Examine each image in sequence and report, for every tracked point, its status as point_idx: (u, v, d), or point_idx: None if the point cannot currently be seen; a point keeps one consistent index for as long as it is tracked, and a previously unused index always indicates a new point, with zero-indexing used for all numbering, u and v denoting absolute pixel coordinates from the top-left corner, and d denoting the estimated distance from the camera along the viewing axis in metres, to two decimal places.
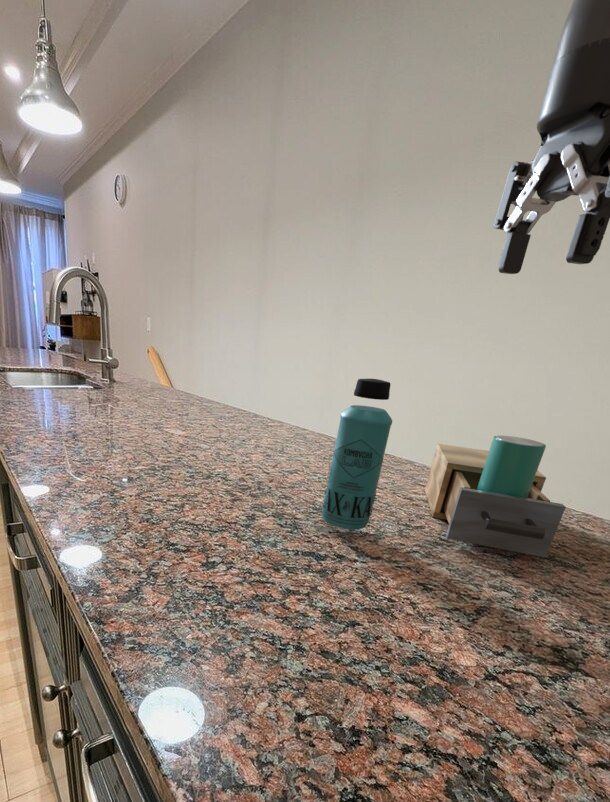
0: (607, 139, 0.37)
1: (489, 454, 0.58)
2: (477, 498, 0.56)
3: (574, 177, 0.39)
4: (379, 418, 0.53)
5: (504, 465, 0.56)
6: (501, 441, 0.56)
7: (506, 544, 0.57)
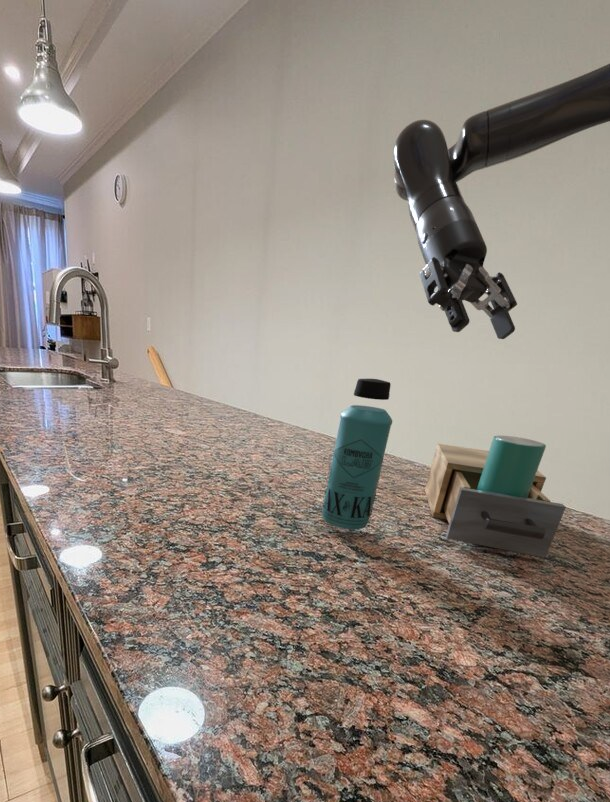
0: None
1: (489, 454, 0.58)
2: (477, 498, 0.56)
3: None
4: (379, 418, 0.53)
5: (504, 465, 0.56)
6: (501, 441, 0.56)
7: (506, 544, 0.57)
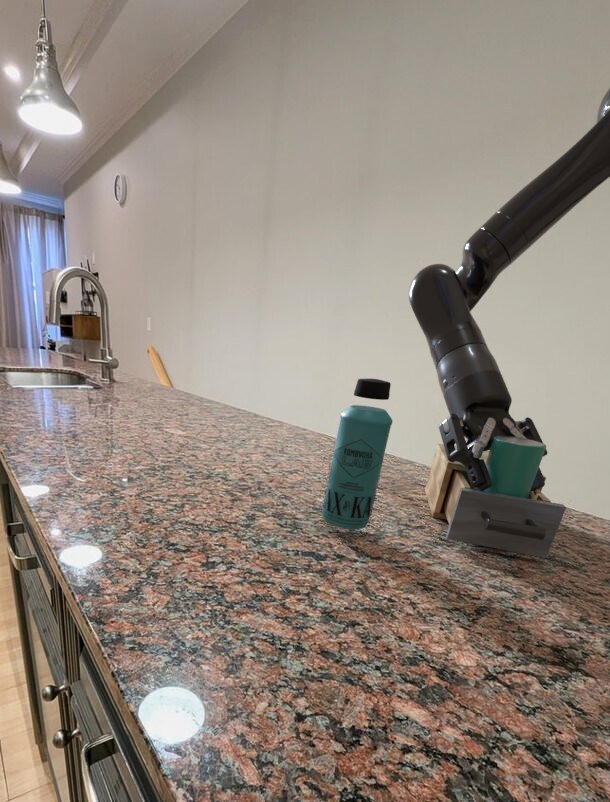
0: None
1: (489, 454, 0.58)
2: (477, 498, 0.56)
3: None
4: (379, 418, 0.53)
5: (505, 465, 0.56)
6: (501, 441, 0.56)
7: (506, 544, 0.57)
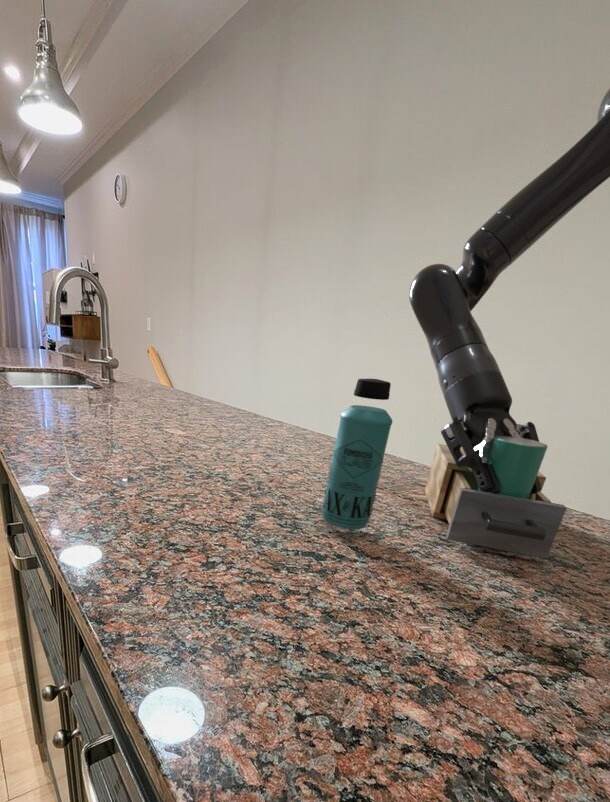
0: None
1: (490, 454, 0.58)
2: (477, 499, 0.56)
3: None
4: (379, 418, 0.53)
5: (506, 465, 0.55)
6: (502, 441, 0.55)
7: (507, 545, 0.57)
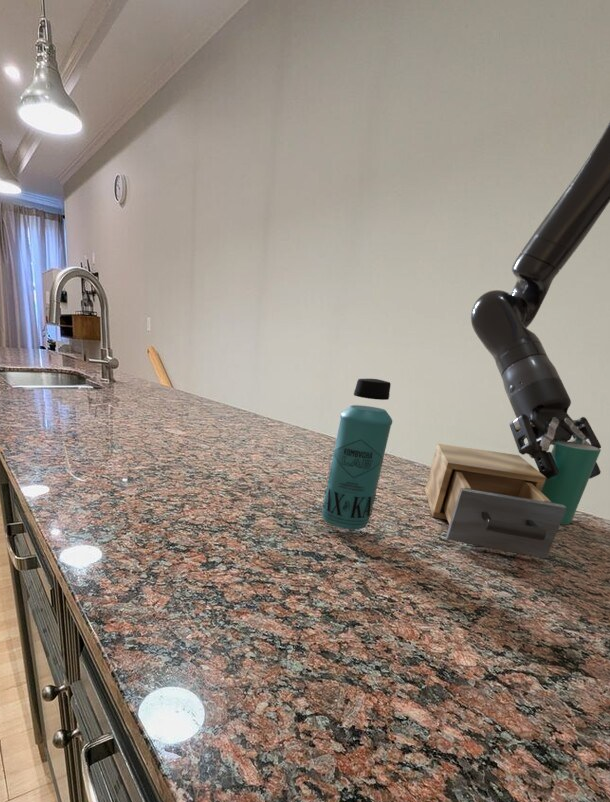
0: None
1: None
2: (477, 499, 0.56)
3: None
4: (379, 418, 0.53)
5: (566, 465, 0.68)
6: (563, 446, 0.68)
7: (507, 545, 0.57)
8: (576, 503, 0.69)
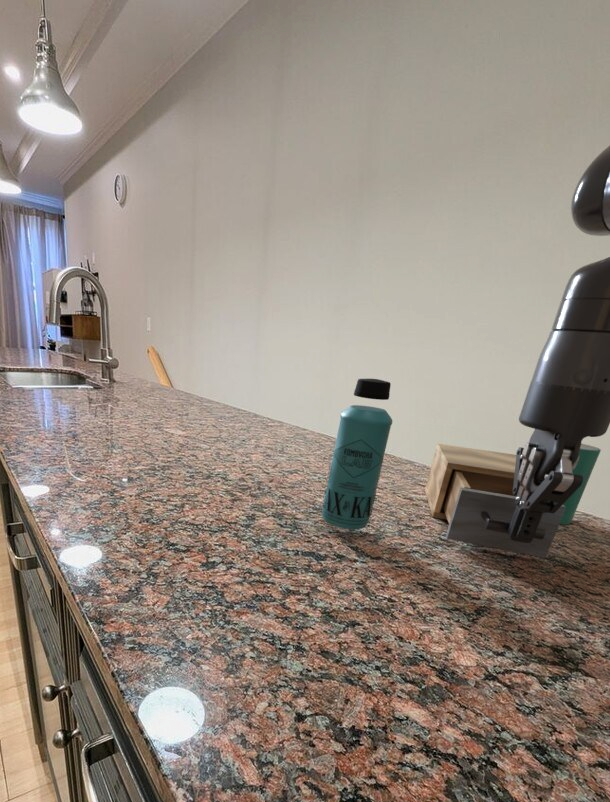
0: (551, 463, 0.44)
1: None
2: (477, 498, 0.56)
3: (525, 477, 0.48)
4: (379, 418, 0.53)
5: None
6: None
7: (506, 544, 0.57)
8: (576, 503, 0.69)
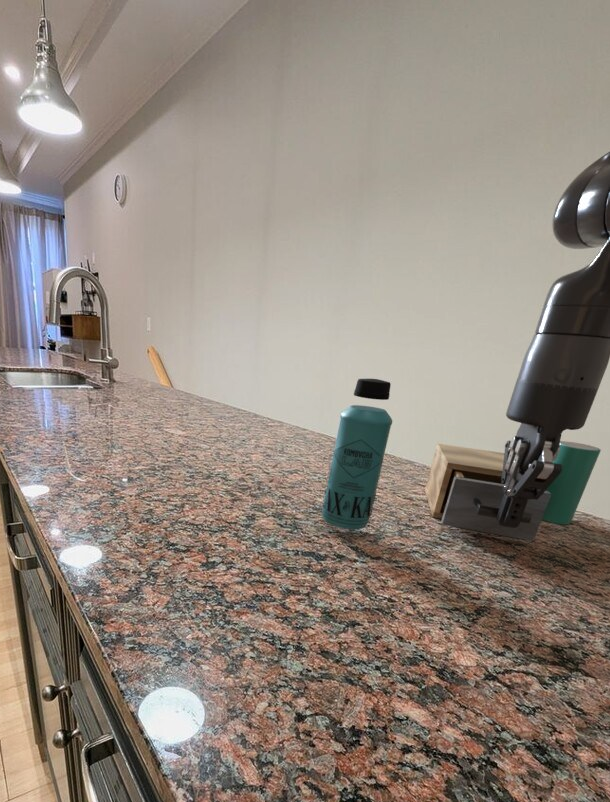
0: (534, 453, 0.49)
1: None
2: (470, 486, 0.61)
3: (512, 467, 0.52)
4: (379, 418, 0.53)
5: (566, 465, 0.68)
6: (563, 446, 0.68)
7: (497, 529, 0.61)
8: (576, 503, 0.69)
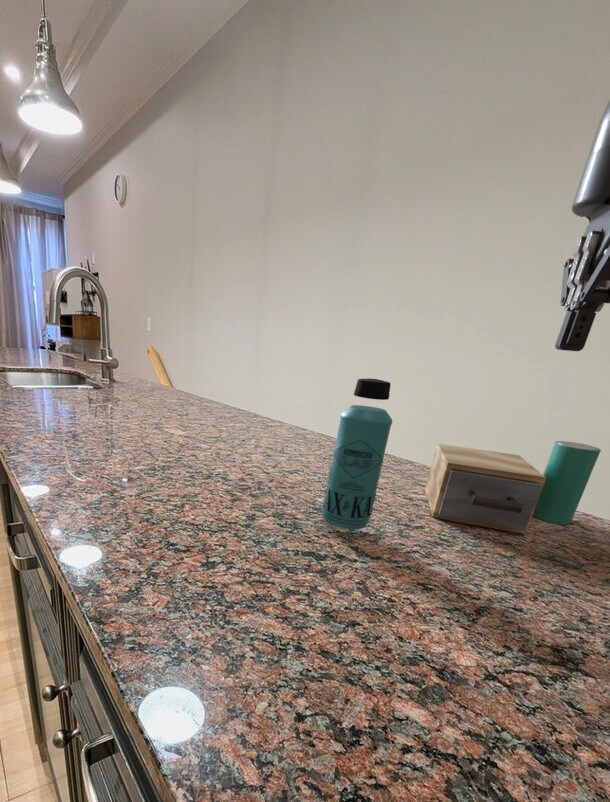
0: None
1: (551, 456, 0.70)
2: (465, 479, 0.64)
3: (579, 270, 0.44)
4: (379, 418, 0.53)
5: (566, 465, 0.68)
6: (563, 446, 0.68)
7: (491, 519, 0.65)
8: (576, 503, 0.69)
